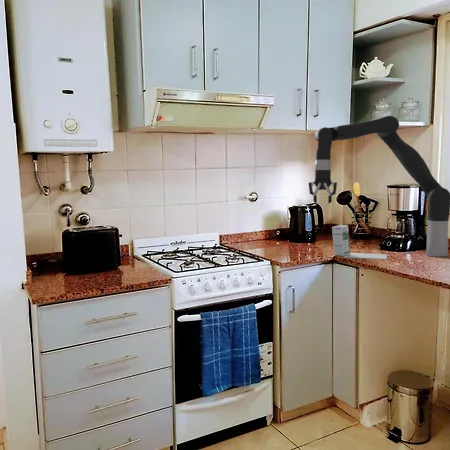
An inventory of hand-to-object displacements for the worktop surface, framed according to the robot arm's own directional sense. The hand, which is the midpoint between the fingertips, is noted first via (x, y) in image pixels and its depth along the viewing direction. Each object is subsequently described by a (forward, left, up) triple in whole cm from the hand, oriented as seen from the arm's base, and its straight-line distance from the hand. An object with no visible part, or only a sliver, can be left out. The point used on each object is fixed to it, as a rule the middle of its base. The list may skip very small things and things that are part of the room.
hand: (322, 203), depth 233 cm
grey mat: (-21, 0, -26) cm, 33 cm away
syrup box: (-10, 0, -26) cm, 27 cm away
